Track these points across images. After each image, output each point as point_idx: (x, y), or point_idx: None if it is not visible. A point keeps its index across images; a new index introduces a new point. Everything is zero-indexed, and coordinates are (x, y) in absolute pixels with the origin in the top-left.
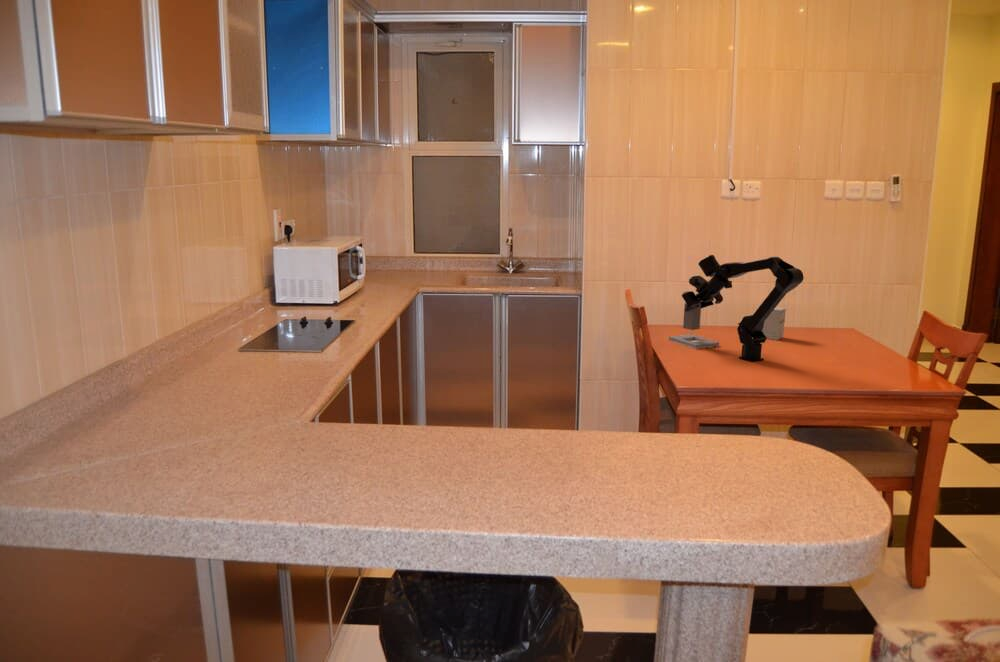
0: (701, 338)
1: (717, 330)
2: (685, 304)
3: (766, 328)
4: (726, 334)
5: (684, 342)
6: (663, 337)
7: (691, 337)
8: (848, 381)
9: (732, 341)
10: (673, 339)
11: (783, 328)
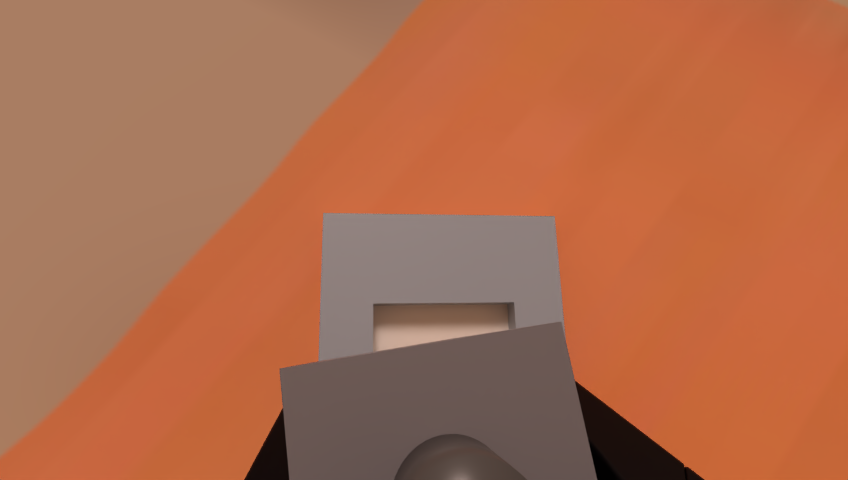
0: None
1: (842, 123)
2: (288, 396)
3: None
4: (839, 237)
5: None
6: (359, 132)
7: (483, 302)
8: None
9: (765, 439)
10: (322, 272)
11: None
